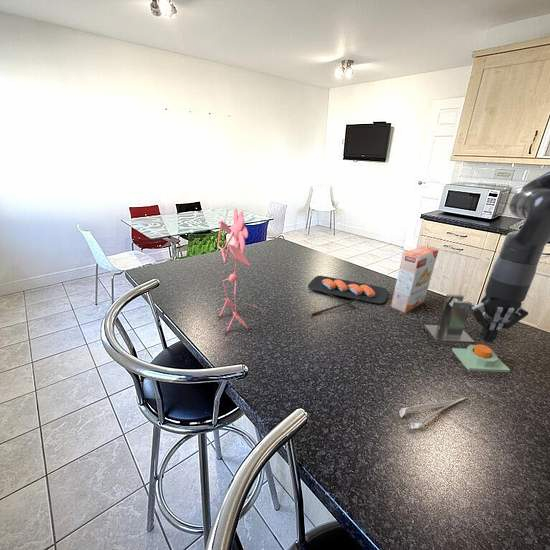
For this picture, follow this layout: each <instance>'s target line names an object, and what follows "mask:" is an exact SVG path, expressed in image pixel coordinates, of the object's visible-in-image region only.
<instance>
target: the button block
mask: <svg viewBox="0 0 550 550" xmlns="http://www.w3.org/2000/svg"><path fill="white" fill-rule="evenodd" d="M476 345H477V344H471V345H468V346H467V347H466V348H460V347H459V348H458V347H452V349H451V351H452V352H453V354H454V355H455V356H456V357H457V358H458V360H459V361H460V362H461V363H462V365H463V366H464V367H465V368H466V369H467V371H473V372H492V373H493V372H494V373H510V372H511V369H510V368H509V367H508V366H507V365H506V364H505V363H504V362H503V361H502V360H501V359H500V358H499V357H498V355H497V354H496V352H494V351H493V350H492V353H491V356H490V358H483V357H480V356H478V355H476V354H475V353H474V349H475V346H476Z"/></svg>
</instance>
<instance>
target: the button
mask: <svg viewBox="0 0 550 550" xmlns="http://www.w3.org/2000/svg"><path fill="white" fill-rule="evenodd" d="M475 345H476V346H475V349H474V353H475V354H476V355H478V356H480V357H483V358H490V356H491V353H492V351H493V350H492V348H491V347H489V346H487V345H485V344H481V343H480V344H479V343H478V344H475Z"/></svg>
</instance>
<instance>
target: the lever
mask: <svg viewBox="0 0 550 550" xmlns="http://www.w3.org/2000/svg"><path fill="white" fill-rule="evenodd" d="M454 301H461V300H459V299H456V298H453V299H452V301H451V302H450V303H449V305H450V306H451V307H452V306H453V303H454ZM483 312H484V313H485V311H483ZM469 313H471V314H473V313H472V312H471V310H470V311H469ZM484 313H483V316H484ZM484 318H485V316H484Z"/></svg>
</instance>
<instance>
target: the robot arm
mask: <svg viewBox="0 0 550 550" xmlns="http://www.w3.org/2000/svg"><path fill="white" fill-rule="evenodd" d="M508 204H509V205H508V209H509V212H510V214H511V215H512V216H514V217H516V218H518V219H521V220H523V221H524V222H523V223H522V226H521V227H520V228H519V230H513V231H510V232H508V233H507V234H506V236H505V237H504V239H503V242H502V245H501V248H500V251H499V253H498V256H497V257H496V260H495V262H494V264H493V267H492V270H491V272H490V275H489V277H488V281H487V283H486V287H485V290H484V291H485V295H484V296H483V298H482V299H481V301H480V303H477V304H476V305H475V304H472V305H470V306H469V308H470V310H471V312H472V313H471V312H470V313H471V314H472V315H473V317H474V319H475V320H476V322H477V323H478V325H480V326H481V327H482V331H481V333H480V338H481V339H482V341H484V342H485V343H494V341H496V339H497V336H498V334H499V332H500V331H501V330H502V329H506V330H508V329H510V328H511V327H513V326H514V325H516V324H518V322H520V321H521V320H522V319H524V318H525V317H527V316H528V315H529V312H528V311H527V310H526V309H524V308H523V307H522V303H523V302H524V301H525V299H526V298H527V295H528V293H529V290H530V288H531V285H532V283H533V281H534V278H535V275H536V273H537V268H538V265H539V262H540V260H541V257H542V255H543V252H544V250H545V247H546V245H547V244H548V243H549V241H550V171H547V172H545V173H544V174H542V175H540V176H538V177H536V178H535V179H532V180H531V181H529V182H527V183H526V184H524V185H523V186H522V187H520V188H519V189H518V190H516V192H515V193H514V194H513V195H512V197H511V199H510V201H509V203H508ZM484 312H485V313H484ZM483 313H484V316H485V318H484V316H483Z"/></svg>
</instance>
